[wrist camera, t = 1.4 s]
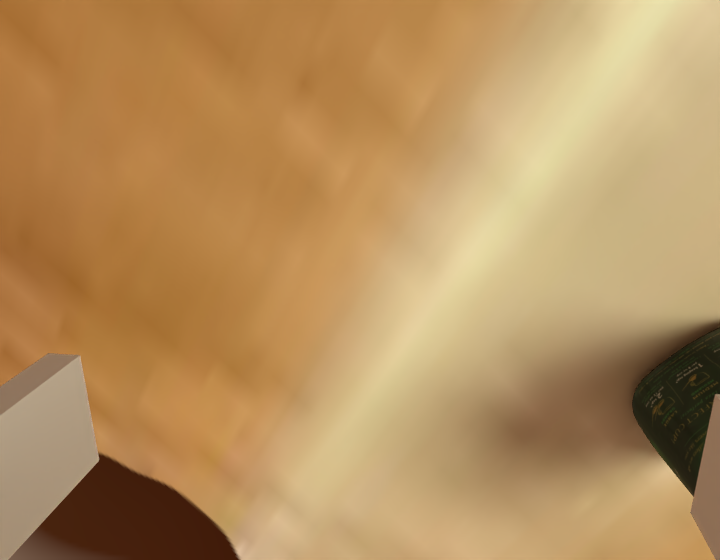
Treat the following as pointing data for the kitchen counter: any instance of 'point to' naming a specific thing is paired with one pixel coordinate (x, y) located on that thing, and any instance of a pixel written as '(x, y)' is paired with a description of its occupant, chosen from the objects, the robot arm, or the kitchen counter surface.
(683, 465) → the coffee jar
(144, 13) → the kitchen counter surface
